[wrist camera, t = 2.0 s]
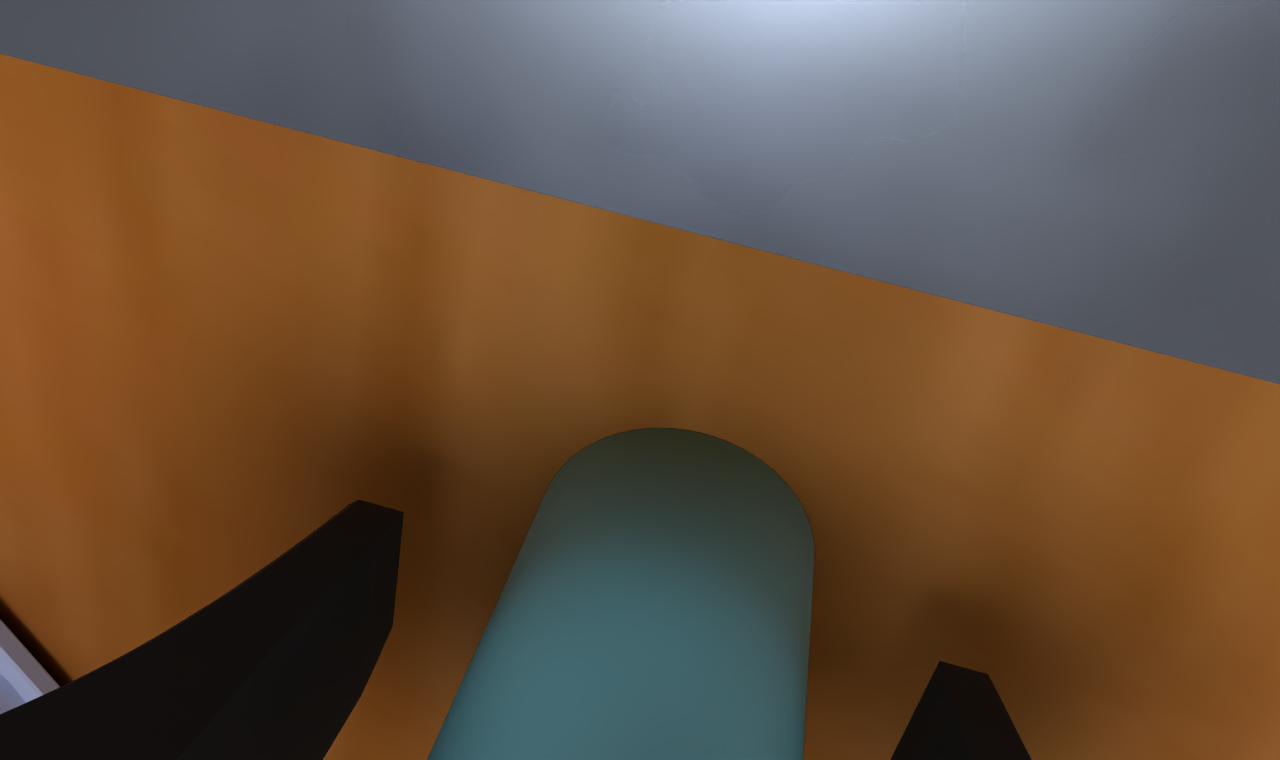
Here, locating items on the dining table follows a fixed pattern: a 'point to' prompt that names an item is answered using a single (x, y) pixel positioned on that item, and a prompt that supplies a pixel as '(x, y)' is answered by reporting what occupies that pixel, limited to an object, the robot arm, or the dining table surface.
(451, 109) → the bore block
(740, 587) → the teal dowel
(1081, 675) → the dining table surface
